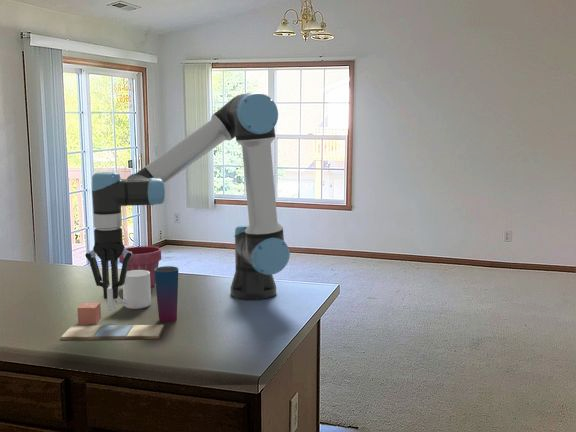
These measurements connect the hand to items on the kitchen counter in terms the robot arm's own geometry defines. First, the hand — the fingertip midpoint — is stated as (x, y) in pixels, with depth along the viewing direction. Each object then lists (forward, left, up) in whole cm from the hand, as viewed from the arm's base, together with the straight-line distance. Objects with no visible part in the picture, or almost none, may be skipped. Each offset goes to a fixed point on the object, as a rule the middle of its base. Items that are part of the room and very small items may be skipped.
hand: (111, 309), depth 175 cm
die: (+6, 0, -4) cm, 7 cm away
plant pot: (-1, -38, -4) cm, 38 cm away
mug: (-3, -14, -4) cm, 15 cm away
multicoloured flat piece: (-3, +10, -4) cm, 11 cm away
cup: (-16, -1, -4) cm, 16 cm away
